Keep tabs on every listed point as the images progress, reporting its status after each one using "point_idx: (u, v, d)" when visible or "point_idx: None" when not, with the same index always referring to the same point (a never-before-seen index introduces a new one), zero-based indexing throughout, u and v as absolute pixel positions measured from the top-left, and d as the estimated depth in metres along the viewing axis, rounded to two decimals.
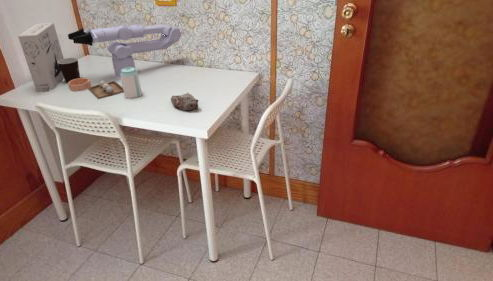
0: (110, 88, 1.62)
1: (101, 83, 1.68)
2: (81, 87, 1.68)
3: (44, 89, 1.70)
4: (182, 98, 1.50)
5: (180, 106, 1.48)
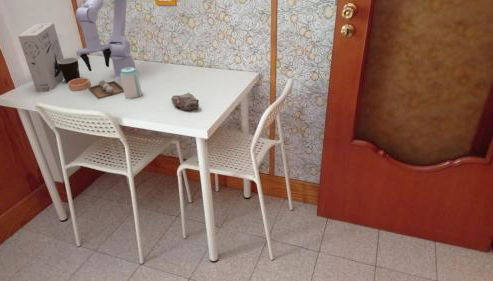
0: (110, 88, 1.62)
1: (101, 83, 1.68)
2: (81, 87, 1.68)
3: (44, 89, 1.70)
4: (183, 98, 1.50)
5: (181, 106, 1.48)
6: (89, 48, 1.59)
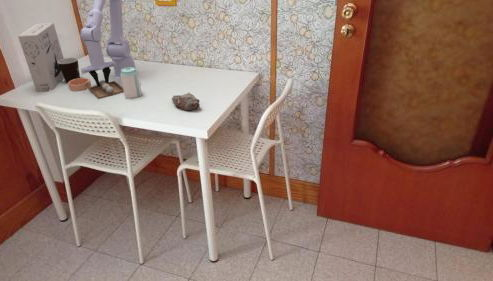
0: (110, 88, 1.62)
1: (101, 83, 1.68)
2: (81, 87, 1.68)
3: (44, 89, 1.70)
4: (183, 98, 1.50)
5: (181, 106, 1.48)
6: (93, 66, 1.63)
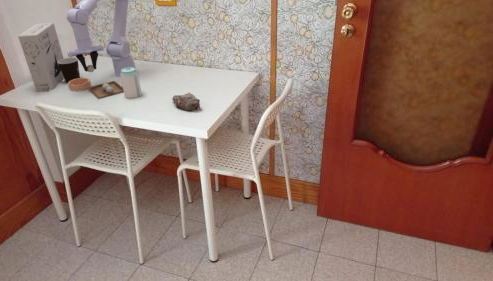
0: (110, 88, 1.62)
1: (89, 67, 1.64)
2: (81, 87, 1.68)
3: (44, 89, 1.70)
4: (184, 98, 1.50)
5: (182, 106, 1.48)
6: (80, 49, 1.59)
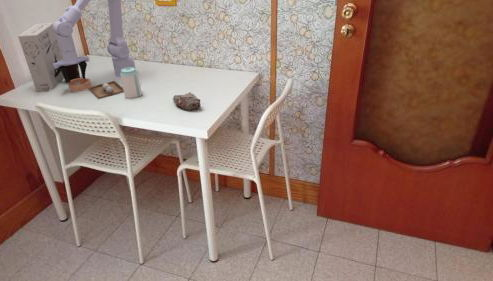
0: (110, 88, 1.62)
1: (76, 84, 1.68)
2: (81, 87, 1.68)
3: (44, 89, 1.70)
4: (184, 98, 1.50)
5: (182, 106, 1.48)
6: (66, 61, 1.61)
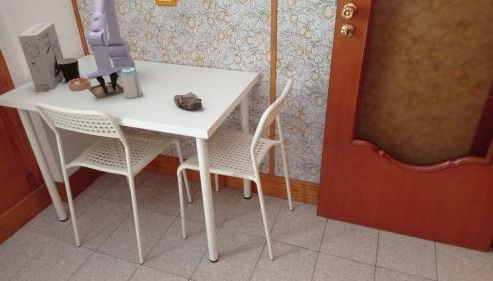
0: (110, 88, 1.62)
1: (76, 84, 1.68)
2: (81, 87, 1.68)
3: (44, 89, 1.70)
4: (185, 97, 1.50)
5: (184, 105, 1.48)
6: (100, 72, 1.56)
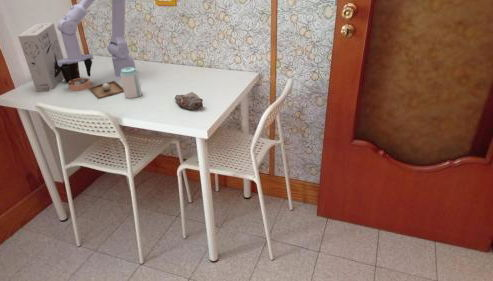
0: (83, 79, 1.72)
1: (76, 84, 1.68)
2: (81, 87, 1.68)
3: (44, 89, 1.70)
4: (186, 97, 1.50)
5: (185, 105, 1.48)
6: (70, 58, 1.64)
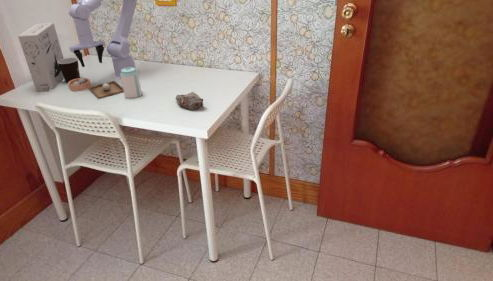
0: (83, 79, 1.72)
1: (74, 84, 1.68)
2: (81, 87, 1.68)
3: (44, 89, 1.70)
4: (187, 97, 1.51)
5: (185, 105, 1.49)
6: (82, 44, 1.62)
